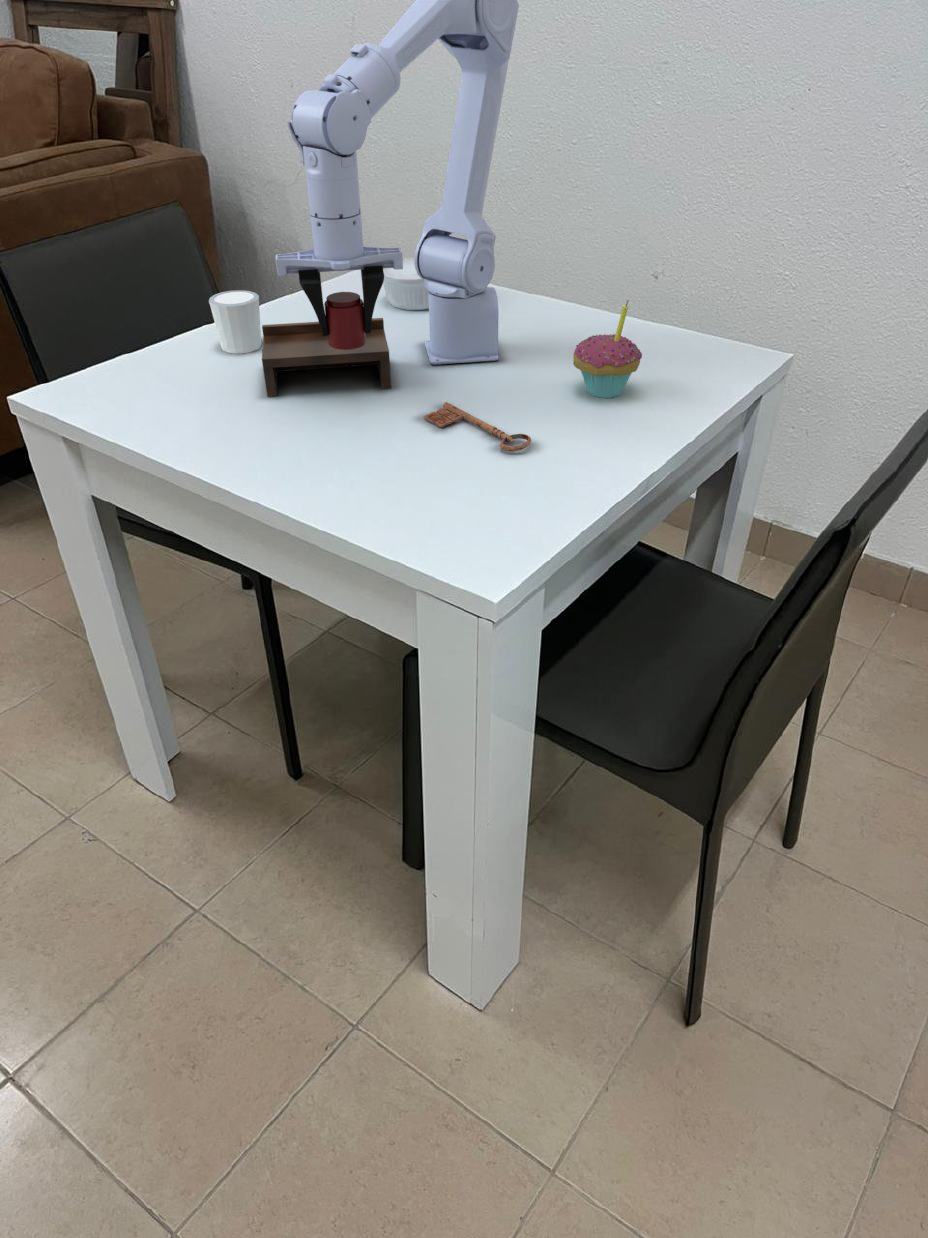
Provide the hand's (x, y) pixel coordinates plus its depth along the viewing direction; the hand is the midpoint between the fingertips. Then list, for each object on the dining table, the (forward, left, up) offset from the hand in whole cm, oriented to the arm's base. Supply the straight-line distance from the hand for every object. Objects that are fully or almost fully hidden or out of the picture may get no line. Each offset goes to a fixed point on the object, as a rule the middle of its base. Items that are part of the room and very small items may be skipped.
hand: (345, 331), depth 112 cm
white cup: (+15, -21, -9) cm, 27 cm away
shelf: (+3, -7, -9) cm, 12 cm away
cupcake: (-32, +3, -9) cm, 34 cm away
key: (-14, +12, -9) cm, 20 cm away
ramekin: (-12, -36, -9) cm, 39 cm away
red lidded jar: (0, 0, -1) cm, 1 cm away
